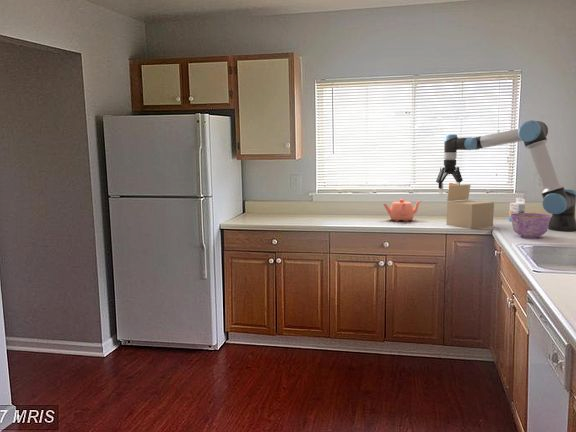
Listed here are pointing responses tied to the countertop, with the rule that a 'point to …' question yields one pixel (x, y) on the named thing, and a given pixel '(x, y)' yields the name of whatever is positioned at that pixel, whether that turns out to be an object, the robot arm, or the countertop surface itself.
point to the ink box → (517, 207)
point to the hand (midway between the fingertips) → (449, 193)
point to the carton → (470, 214)
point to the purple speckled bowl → (530, 224)
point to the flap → (458, 192)
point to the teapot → (402, 210)
